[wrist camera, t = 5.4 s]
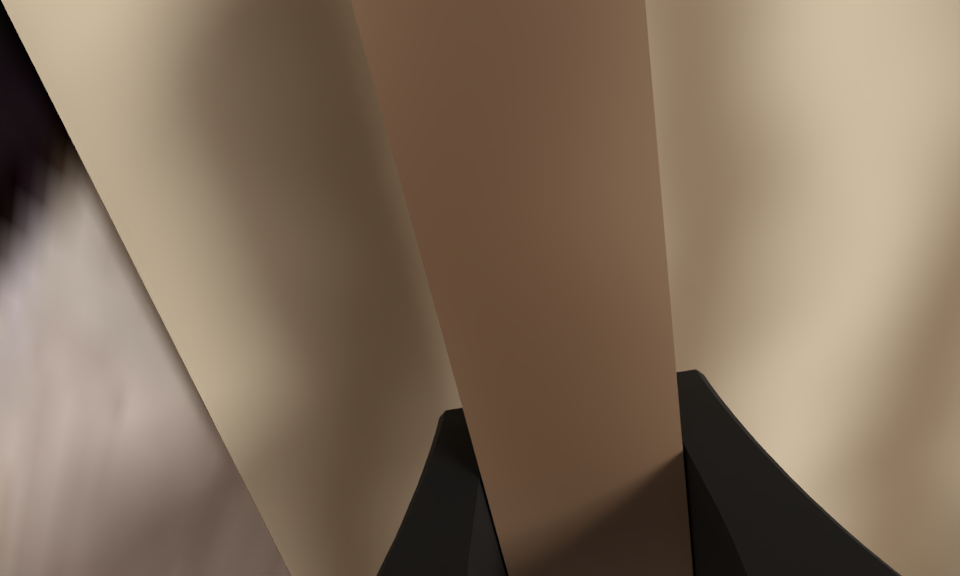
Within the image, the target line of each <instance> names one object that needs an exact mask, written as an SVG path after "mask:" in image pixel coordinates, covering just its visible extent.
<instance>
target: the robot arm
mask: <svg viewBox="0 0 960 576" xmlns="http://www.w3.org/2000/svg"><path fill="white" fill-rule="evenodd" d="M676 374H677V386H678V398H679V410H680V422H681V434H682V446H683V457H684V469H685V481H686V493H687V505H688V517H689V529H690V541H691V553H692V565H693V576H901V575H900V574H899V573H898V572H896V571H895V570H894V569H893V568H891V567H890V566H889V565H888V564H886V563H885V562H884V561H883V560H882V559H880V558H879V557H878V556H877V555H875V554H874V553H873V552H872V551H870V550H869V549H868V548H867V547H866V546H864V545H863V544H862V543H861V542H860V541H859V540H857V539H856V538H855V537H854V536H853V535H852V534H851V533H849V532H848V531H847V530H846V529H845V528H844V527H843V526H842V525H840V524H839V523H838V522H837V521H836V520H835V519H834V518H833V517H832V516H831V515H830V514H828V513H827V512H826V511H825V510H824V509H823V508H822V507H821V506H820V505H819V504H818V503H817V502H816V501H815V500H814V499H812V498H811V497H810V496H809V495H808V494H807V493H806V492H805V491H804V490H803V489H802V488H801V487H800V486H799V485H798V484H797V483H796V482H795V481H794V480H793V479H792V478H791V477H790V476H789V475H788V474H787V473H786V472H785V471H784V469H783V468H782V467H781V466H780V465H779V464H778V463H777V462H776V461H775V460H774V459H773V458H772V457H771V456H770V455H769V454H768V453H767V452H766V451H765V449H764V448H763V447H762V446H761V445H760V444H759V443H758V442H757V441H756V440H755V438H754V437H753V436H752V435H751V434H750V433H749V432H748V430H747V429H746V428H745V427H744V426H743V425H742V423H741V422H740V421H739V420H738V419H737V417H736V416H735V415H734V414H733V413H732V411H731V410H730V409H729V408H728V406H727V405H726V404H725V403H724V401H723V400H722V399H721V398H720V396H719V395H718V394H717V392H716V391H715V390H714V388H713V387H712V386H711V384H710V383H709V381H708V380H707V378H706V377H705V375H704V374H702V373H701V372H699V371H698V370H696V369H693V370H687V371H681V372H676ZM376 576H509V575H508V572H507V568H506V564H505V561H504V557H503V554H502V550H501V546H500V543H499V539H498V535H497V532H496V528H495V524H494V521H493V517H492V513H491V510H490V506H489V503H488V499H487V495H486V492H485V488H484V484H483V481H482V477H481V473H480V470H479V466H478V462H477V459H476V455H475V452H474V448H473V444H472V441H471V437H470V433H469V430H468V426H467V422H466V419H465V415H464V412H463V408H457V409H451V410H445V411H444V413H443V414H442V415H441V416H440V417H439V421H438V425H437V429H436V432H435V435H434V439H433V442H432V445H431V448H430V451H429V454H428V457H427V460H426V463H425V466H424V468H423V471H422V474H421V476H420V479H419V482H418V484H417V487H416V489H415V492H414V494H413V497H412V499H411V501H410V504H409V506H408V509H407V511H406V513H405V516H404V518H403V521H402V523H401V525H400V528H399V530H398V532H397V534H396V537H395V539H394V541H393V543H392V545H391V547H390V549H389V551H388V553H387V555H386V557H385V559H384V561H383V563H382V565H381V567H380V569H379V571H378V573H377V575H376Z"/></svg>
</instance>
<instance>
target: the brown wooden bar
mask: <svg viewBox="0 0 960 576" xmlns="http://www.w3.org/2000/svg"><path fill="white" fill-rule="evenodd" d="M351 4H352V7H353V11H354V15H355V18H356V22H357V26H358V29H359V33H360V36H361V40H362V44H363V47H364V51H365V55H366V58H367V62H368V66H369V69H370V73H371V77H372V80H373V84H374V87H375V91H376V95H377V98H378V102H379V106H380V109H381V113H382V117H383V120H384V124H385V127H386V131H387V135H388V138H389V142H390V146H391V149H392V153H393V157H394V160H395V164H396V168H397V171H398V175H399V178H400V182H401V186H402V189H403V193H404V197H405V200H406V204H407V208H408V211H409V215H410V219H411V222H412V226H413V229H414V233H415V237H416V240H417V244H418V248H419V251H420V255H421V259H422V262H423V266H424V269H425V273H426V277H427V280H428V284H429V288H430V291H431V295H432V299H433V302H434V306H435V310H436V313H437V317H438V320H439V324H440V328H441V331H442V335H443V339H444V342H445V346H446V350H447V353H448V357H449V361H450V364H451V368H452V371H453V375H454V379H455V382H456V386H457V390H458V393H459V397H460V401H461V404H462V408H463V412H464V415H465V419H466V422H467V426H468V430H469V433H470V437H471V441H472V444H473V448H474V452H475V455H476V459H477V462H478V466H479V470H480V473H481V477H482V481H483V484H484V488H485V492H486V495H487V499H488V503H489V506H490V510H491V513H492V517H493V521H494V524H495V528H496V532H497V535H498V539H499V543H500V546H501V550H502V554H503V557H504V561H505V564H506V568H507V572H508V575H509V576H693V565H692V553H691V541H690V529H689V517H688V505H687V493H686V481H685V469H684V457H683V446H682V434H681V422H680V410H679V398H678V386H677V374H676V362H675V350H674V338H673V326H672V315H671V303H670V291H669V279H668V267H667V255H666V243H665V231H664V219H663V207H662V195H661V184H660V172H659V160H658V148H657V136H656V124H655V112H654V100H653V88H652V76H651V64H650V53H649V41H648V29H647V17H646V5H645V0H351Z"/></svg>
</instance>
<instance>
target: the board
mask: <svg viewBox="0 0 960 576" xmlns="http://www.w3.org/2000/svg"><path fill="white" fill-rule="evenodd" d="M1 1H2V3H3V5H4V7H5V9H6V11H7V13H8V15H9V17H10V19H11V21H12V23H13V25H14V27H15V29H16V31H17V33H18V35H19V37H20V39H21V41H22V43H23V45H24V47H25V49H26V51H27V53H28V55H29V57H30V59H31V61H32V63H33V65H34V66H35V68H36V70H37V72H38V74H39V76H40V78H41V80H42V82H43V84H44V86H45V88H46V90H47V92H48V94H49V96H50V98H51V100H52V102H53V104H54V106H55V108H56V110H57V112H58V114H59V116H60V118H61V120H62V122H63V124H64V126H65V128H66V130H67V132H68V134H69V136H70V138H71V140H72V142H73V144H74V146H75V148H76V150H77V152H78V154H79V156H80V158H81V160H82V162H83V164H84V166H85V168H86V170H87V172H88V174H89V176H90V178H91V180H92V182H93V184H94V186H95V188H96V190H97V192H98V194H99V196H100V197H101V199H102V201H103V203H104V205H105V207H106V209H107V211H108V213H109V215H110V217H111V219H112V221H113V223H114V225H115V227H116V229H117V231H118V233H119V235H120V237H121V239H122V241H123V243H124V245H125V247H126V249H127V251H128V253H129V255H130V257H131V259H132V261H133V263H134V265H135V267H136V269H137V271H138V273H139V275H140V277H141V279H142V281H143V283H144V285H145V287H146V289H147V291H148V293H149V295H150V297H151V299H152V301H153V303H154V305H155V307H156V309H157V311H158V313H159V315H160V317H161V319H162V321H163V323H164V325H165V327H166V329H167V330H168V332H169V334H170V336H171V338H172V340H173V342H174V344H175V346H176V348H177V350H178V352H179V354H180V356H181V358H182V360H183V362H184V364H185V366H186V368H187V370H188V372H189V374H190V376H191V378H192V380H193V382H194V384H195V386H196V388H197V390H198V392H199V394H200V396H201V398H202V400H203V402H204V404H205V406H206V408H207V410H208V412H209V414H210V416H211V418H212V420H213V422H214V424H215V426H216V428H217V430H218V432H219V434H220V436H221V438H222V440H223V442H224V444H225V446H226V448H227V450H228V452H229V454H230V456H231V458H232V460H233V462H234V463H235V465H236V467H237V469H238V471H239V473H240V475H241V477H242V479H243V481H244V483H245V485H246V487H247V489H248V491H249V493H250V495H251V497H252V499H253V501H254V503H255V505H256V507H257V509H258V511H259V513H260V515H261V517H262V519H263V521H264V523H265V525H266V527H267V529H268V531H269V533H270V535H271V537H272V539H273V541H274V543H275V545H276V547H277V549H278V551H279V553H280V555H281V557H282V559H283V561H284V563H285V565H286V567H287V569H288V571H289V573H290V575H291V576H376V575H377V573H378V571H379V569H380V567H381V565H382V563H383V561H384V559H385V557H386V555H387V553H388V551H389V549H390V547H391V545H392V543H393V541H394V539H395V537H396V534H397V532H398V530H399V528H400V525H401V523H402V521H403V518H404V516H405V513H406V511H407V509H408V506H409V504H410V501H411V499H412V497H413V494H414V492H415V489H416V487H417V484H418V482H419V479H420V476H421V474H422V471H423V468H424V466H425V463H426V460H427V457H428V454H429V451H430V448H431V445H432V442H433V439H434V435H435V432H436V429H437V425H438V421H439V417H440V416H441V415H442V414H443V413H444V411H445V410H451V409H457V408H462V404H461V401H460V397H459V393H458V390H457V386H456V382H455V379H454V375H453V371H452V368H451V364H450V361H449V357H448V353H447V350H446V346H445V342H444V339H443V335H442V331H441V328H440V324H439V320H438V317H437V313H436V310H435V306H434V302H433V299H432V295H431V291H430V288H429V284H428V280H427V277H426V273H425V269H424V266H423V262H422V259H421V255H420V251H419V248H418V244H417V240H416V237H415V233H414V229H413V226H412V222H411V219H410V215H409V211H408V208H407V204H406V200H405V197H404V193H403V189H402V186H401V182H400V178H399V175H398V171H397V168H396V164H395V160H394V157H393V153H392V149H391V146H390V142H389V138H388V135H387V131H386V127H385V124H384V120H383V117H382V113H381V109H380V106H379V102H378V98H377V95H376V91H375V87H374V84H373V80H372V77H371V73H370V69H369V66H368V62H367V58H366V55H365V51H364V47H363V44H362V40H361V36H360V33H359V29H358V26H357V22H356V18H355V15H354V11H353V7H352V4H351V0H1ZM645 5H646V17H647V29H648V41H649V53H650V64H651V76H652V88H653V100H654V112H655V124H656V136H657V148H658V160H659V172H660V184H661V195H662V207H663V219H664V231H665V243H666V255H667V267H668V279H669V291H670V303H671V315H672V326H673V338H674V350H675V362H676V372H681V371H687V370H693V369H696V370H698V371H699V372H701V373H702V374H704V375H705V377H706V378H707V380H708V381H709V383H710V384H711V386H712V387H713V388H714V390H715V391H716V392H717V394H718V395H719V396H720V398H721V399H722V400H723V401H724V403H725V404H726V405H727V406H728V408H729V409H730V410H731V411H732V413H733V414H734V415H735V416H736V417H737V419H738V420H739V421H740V422H741V423H742V425H743V426H744V427H745V428H746V429H747V430H748V432H749V433H750V434H751V435H752V436H753V437H754V438H755V440H756V441H757V442H758V443H759V444H760V445H761V446H762V447H763V448H764V449H765V451H766V452H767V453H768V454H769V455H770V456H771V457H772V458H773V459H774V460H775V461H776V462H777V463H778V464H779V465H780V466H781V467H782V468H783V469H784V471H785V472H786V473H787V474H788V475H789V476H790V477H791V478H792V479H793V480H794V481H795V482H796V483H797V484H798V485H799V486H800V487H801V488H802V489H803V490H804V491H805V492H806V493H807V494H808V495H809V496H810V497H811V498H812V499H814V500H815V501H816V502H817V503H818V504H819V505H820V506H821V507H822V508H823V509H824V510H825V511H826V512H827V513H828V514H830V515H831V516H832V517H833V518H834V519H835V520H836V521H837V522H838V523H839V524H840V525H842V526H843V527H844V528H845V529H846V530H847V531H848V532H849V533H851V534H852V535H853V536H854V537H855V538H856V539H857V540H859V541H860V542H861V543H862V544H863V545H864V546H866V547H867V548H868V549H869V550H870V551H872V552H873V553H874V554H875V555H877V556H878V557H879V558H880V559H882V560H883V561H884V562H885V563H886V564H888V565H889V566H890V567H891V568H893V569H894V570H895V571H896V572H898V573H899V574H900V575H901V576H960V0H645Z"/></svg>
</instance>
